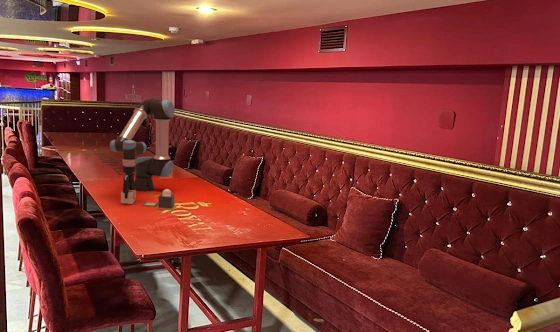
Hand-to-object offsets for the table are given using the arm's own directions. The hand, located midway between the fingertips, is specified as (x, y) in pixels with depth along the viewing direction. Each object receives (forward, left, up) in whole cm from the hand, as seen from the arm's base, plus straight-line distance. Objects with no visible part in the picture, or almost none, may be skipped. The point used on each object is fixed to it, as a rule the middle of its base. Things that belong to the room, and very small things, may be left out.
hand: (128, 201), depth 294 cm
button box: (+5, +25, -1) cm, 25 cm away
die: (0, 0, 0) cm, 0 cm away
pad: (0, +14, -1) cm, 14 cm away
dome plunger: (+5, +25, +1) cm, 25 cm away
